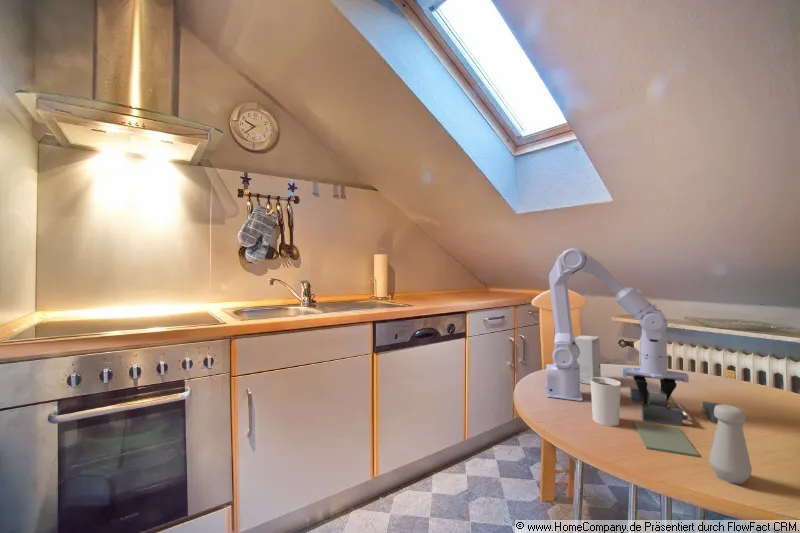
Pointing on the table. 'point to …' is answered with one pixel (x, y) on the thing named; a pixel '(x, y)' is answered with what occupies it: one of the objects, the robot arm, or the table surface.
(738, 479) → the salt shaker
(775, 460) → the table surface
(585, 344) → the skincare box
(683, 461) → the table surface
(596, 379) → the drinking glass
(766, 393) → the table surface
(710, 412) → the bracket
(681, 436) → the mat
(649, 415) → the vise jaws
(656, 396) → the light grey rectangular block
